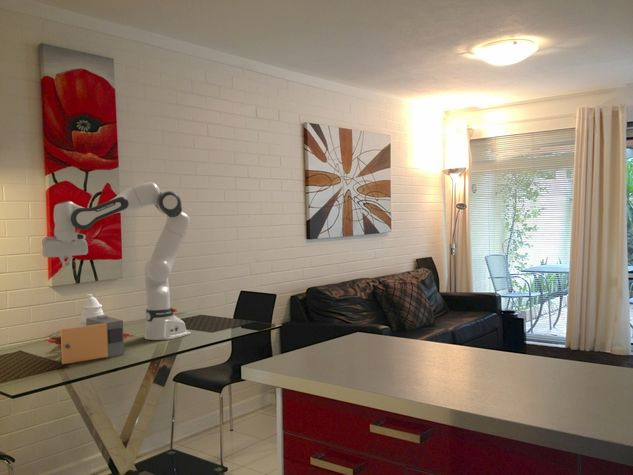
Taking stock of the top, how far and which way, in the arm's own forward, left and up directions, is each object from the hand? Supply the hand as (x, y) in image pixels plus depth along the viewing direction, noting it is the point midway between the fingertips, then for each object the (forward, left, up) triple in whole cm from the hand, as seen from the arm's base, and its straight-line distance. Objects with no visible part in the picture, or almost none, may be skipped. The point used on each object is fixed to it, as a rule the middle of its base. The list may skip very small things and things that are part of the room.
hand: (66, 265), depth 281 cm
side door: (+10, +39, -36) cm, 54 cm away
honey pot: (-26, -30, -37) cm, 54 cm away
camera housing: (-3, +30, -37) cm, 48 cm away
